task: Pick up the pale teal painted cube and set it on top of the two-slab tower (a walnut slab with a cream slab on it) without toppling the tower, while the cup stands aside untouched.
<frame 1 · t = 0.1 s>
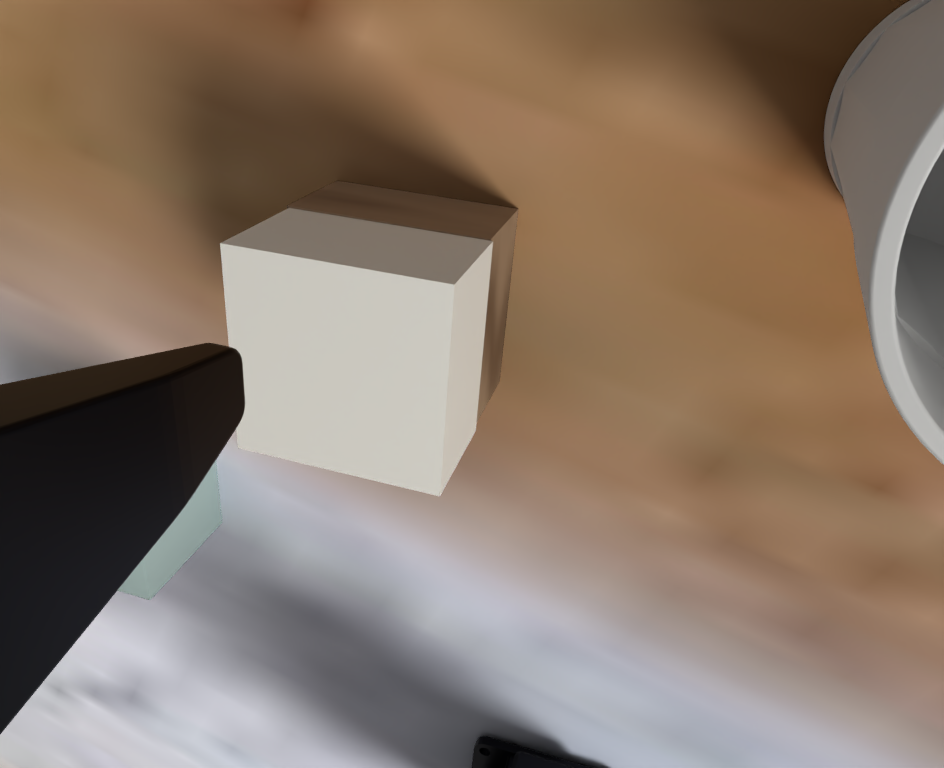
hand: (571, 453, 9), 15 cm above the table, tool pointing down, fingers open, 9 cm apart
walnut slab: (422, 282, 25), on the table, touching cream slab
cream slab: (385, 323, 22), point 3 cm above the table, touching walnut slab
painted cube: (166, 461, 32), on the table
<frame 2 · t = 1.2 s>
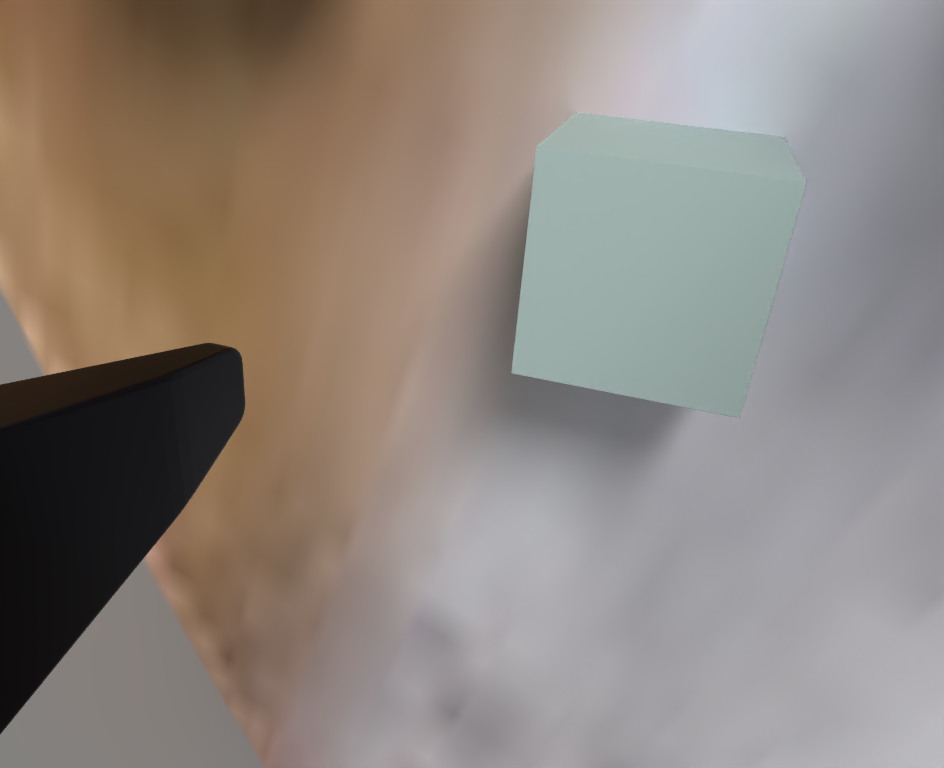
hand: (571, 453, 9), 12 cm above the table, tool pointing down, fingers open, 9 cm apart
painted cube: (658, 223, 20), on the table
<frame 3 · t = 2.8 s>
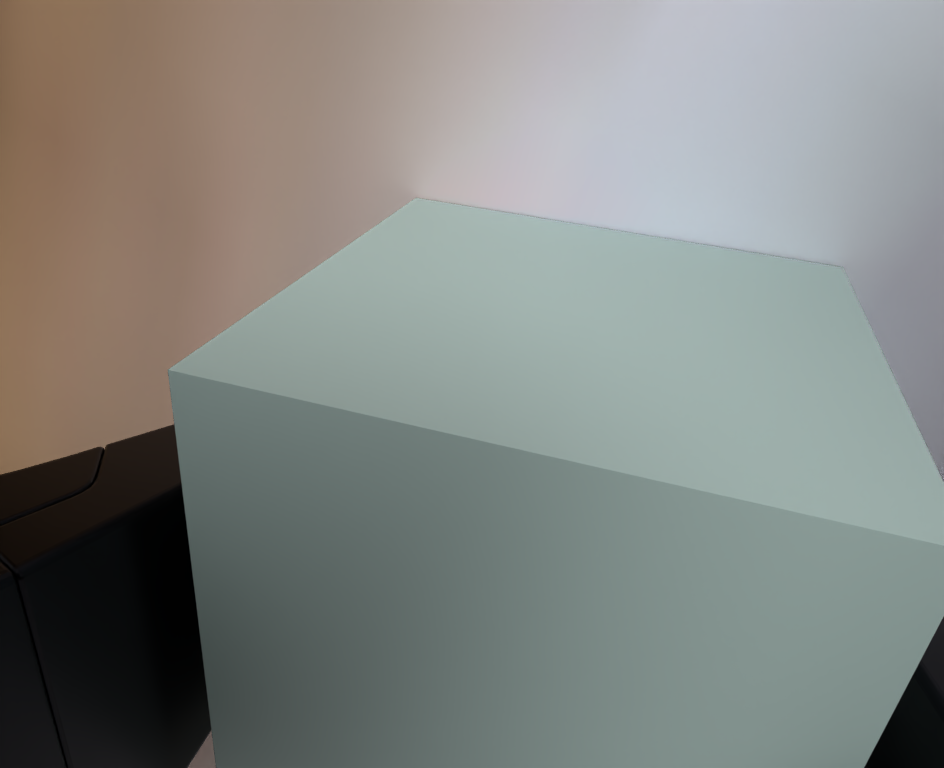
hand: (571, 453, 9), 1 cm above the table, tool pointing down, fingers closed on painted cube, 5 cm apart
painted cube: (584, 413, 10), on the table, touching gripper
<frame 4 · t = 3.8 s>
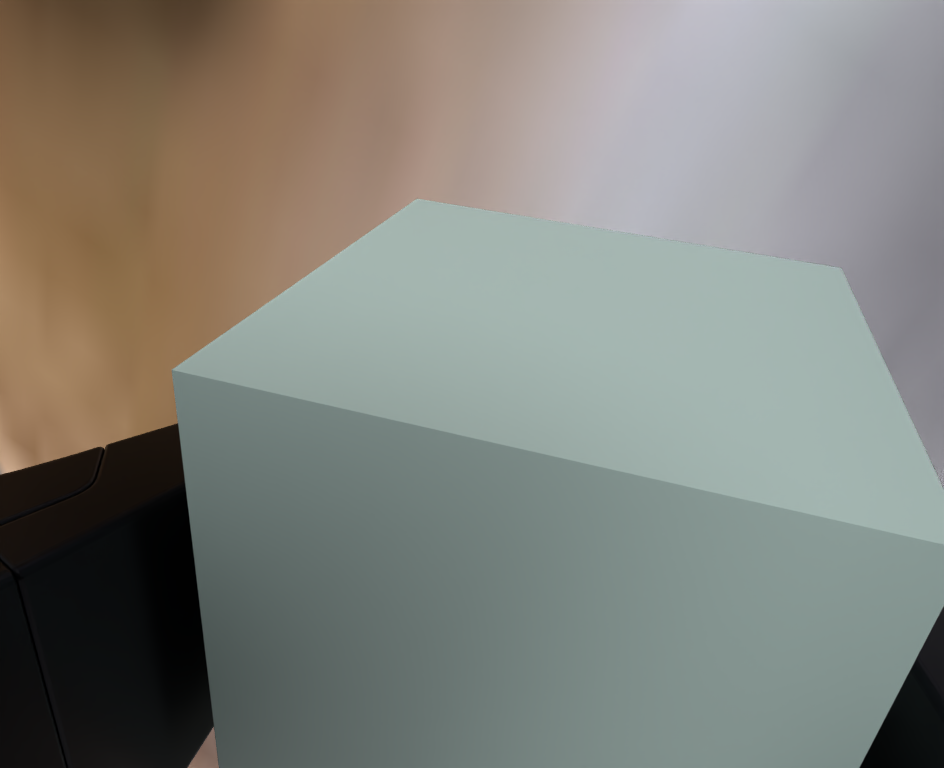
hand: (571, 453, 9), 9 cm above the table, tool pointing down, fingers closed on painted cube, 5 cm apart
painted cube: (584, 412, 10), point 8 cm above the table, touching gripper
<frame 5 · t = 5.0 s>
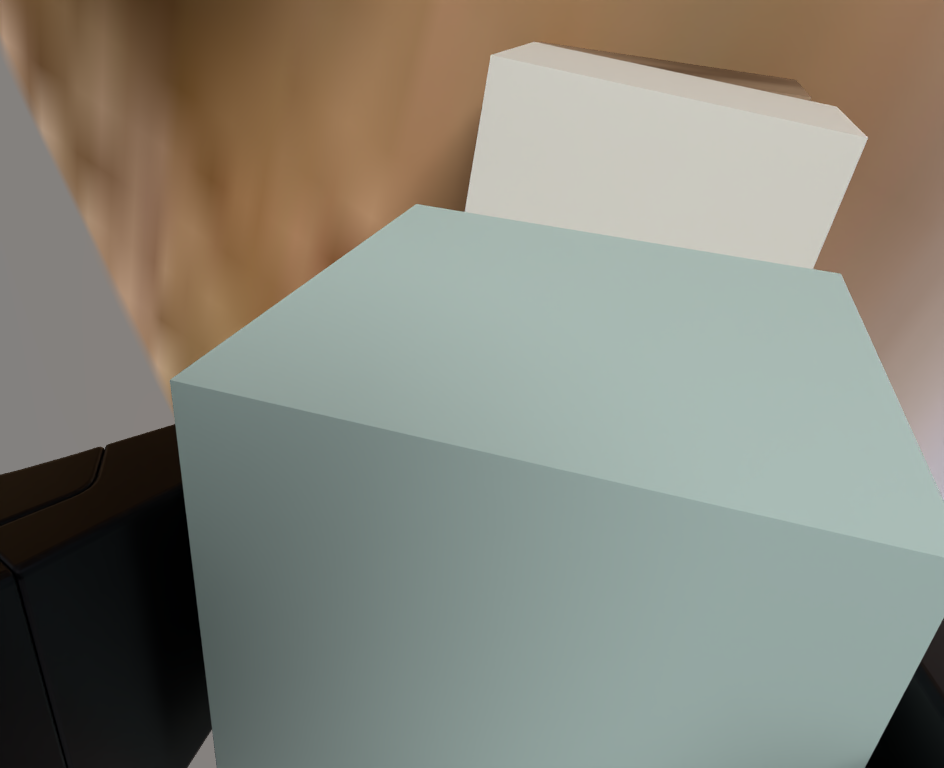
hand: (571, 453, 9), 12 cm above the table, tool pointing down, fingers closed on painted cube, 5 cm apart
walnut slab: (637, 184, 20), on the table, touching cream slab
cream slab: (638, 219, 16), point 3 cm above the table, touching walnut slab
painted cube: (583, 418, 10), point 11 cm above the table, touching gripper
when the fingers open (9 cm above the table, at t = 6.0 s): painted cube drops 2 cm, resting on cream slab.
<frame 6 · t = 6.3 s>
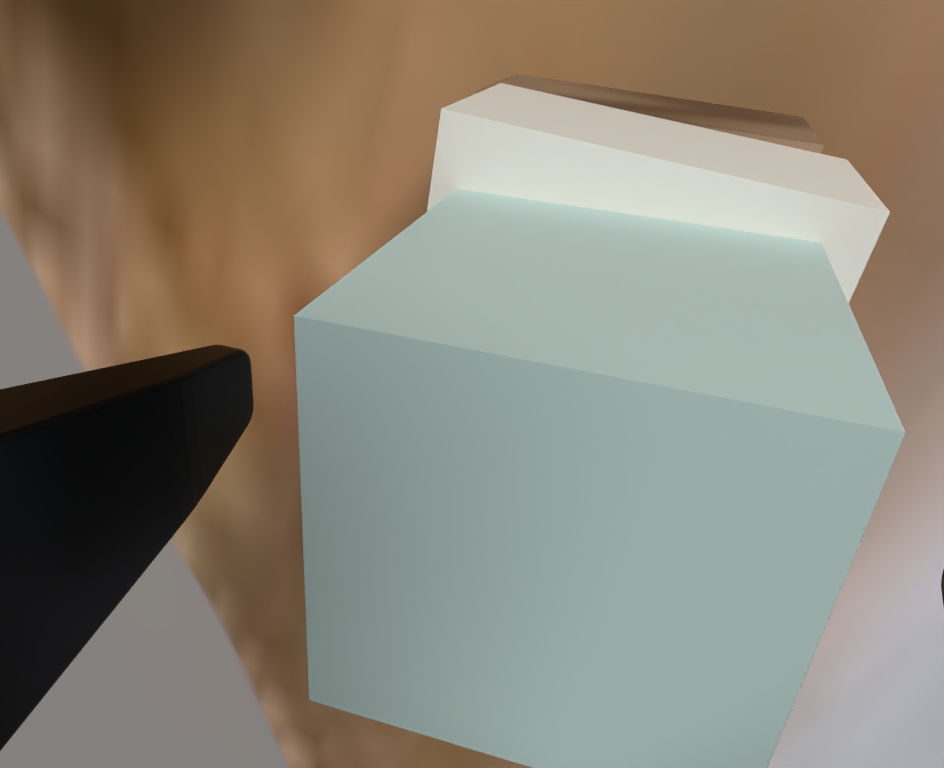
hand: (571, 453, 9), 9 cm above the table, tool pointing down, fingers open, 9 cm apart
walnut slab: (626, 230, 18), on the table, touching cream slab
cream slab: (621, 280, 15), point 3 cm above the table, touching painted cube, walnut slab
painted cube: (601, 374, 12), point 7 cm above the table, touching cream slab
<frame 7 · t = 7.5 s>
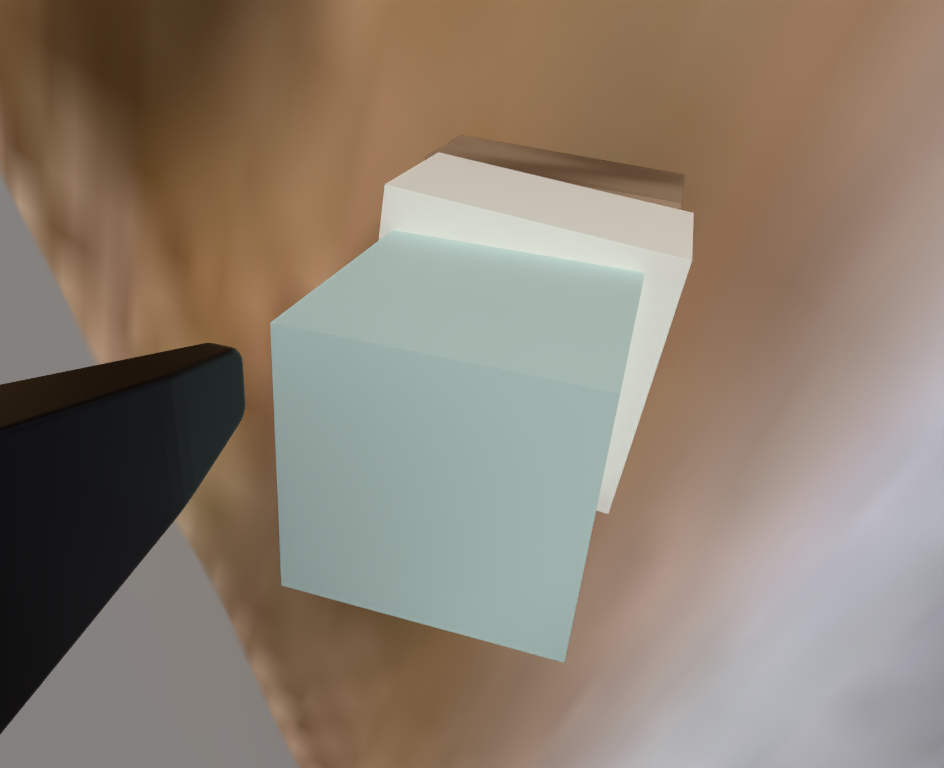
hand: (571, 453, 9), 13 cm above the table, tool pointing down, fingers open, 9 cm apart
walnut slab: (553, 257, 22), on the table, touching cream slab
cream slab: (535, 301, 19), point 3 cm above the table, touching painted cube, walnut slab
painted cube: (501, 365, 16), point 7 cm above the table, touching cream slab
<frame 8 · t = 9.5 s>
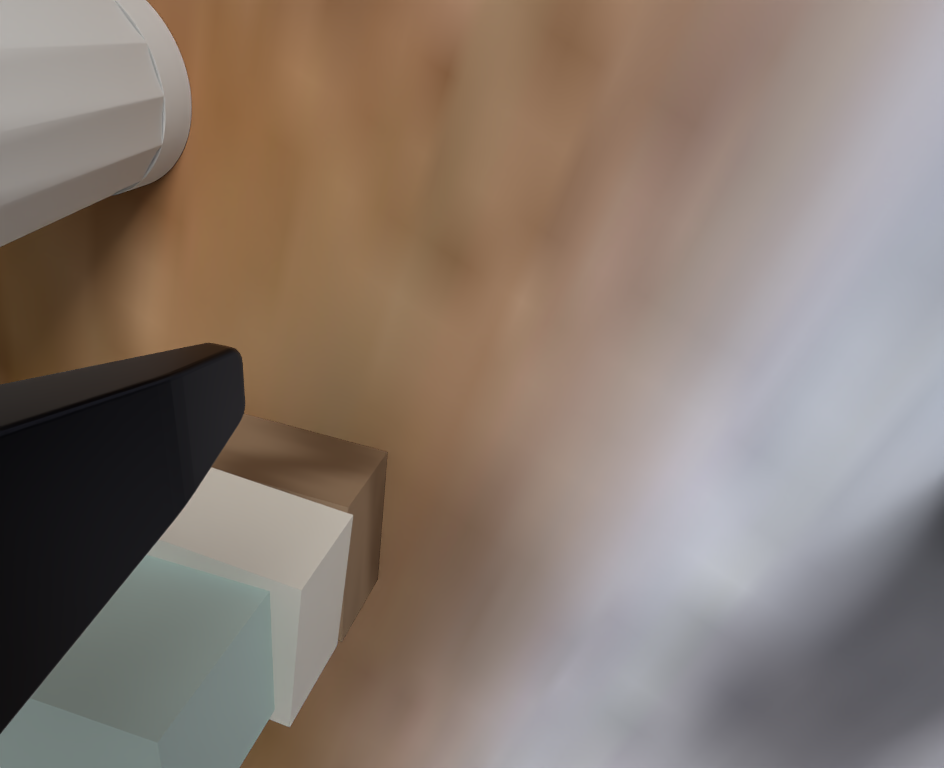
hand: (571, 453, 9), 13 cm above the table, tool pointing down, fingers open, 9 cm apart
walnut slab: (310, 495, 29), on the table, touching cream slab
cup: (104, 83, 23), on the table
cream slab: (263, 555, 26), point 3 cm above the table, touching painted cube, walnut slab
painted cube: (197, 630, 23), point 7 cm above the table, touching cream slab
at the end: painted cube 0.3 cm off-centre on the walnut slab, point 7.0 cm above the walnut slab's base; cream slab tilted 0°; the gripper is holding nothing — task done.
